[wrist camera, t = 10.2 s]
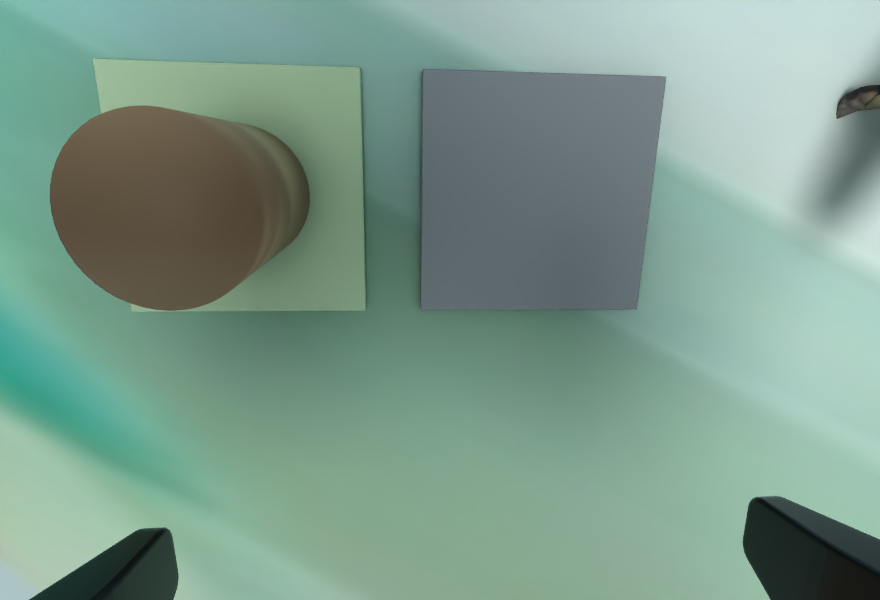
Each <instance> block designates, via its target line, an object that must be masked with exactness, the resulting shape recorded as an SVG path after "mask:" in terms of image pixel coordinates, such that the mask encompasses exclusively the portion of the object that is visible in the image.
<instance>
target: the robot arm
mask: <svg viewBox="0 0 880 600" xmlns="http://www.w3.org/2000/svg"><path fill="white" fill-rule="evenodd" d="M743 548H744V552H745V555H746V557H747V559H748V561H749V563H750V564H751V566H752V568H753V570H754V571H755V573H756V575H757V577H758V578H759V580H760V582H761V584H762V585H763V587H764V589H765V591H766V592H767V594H768V596H769V598H770V599H771V600H880V539H877V538H875V537H873V536H870V535H868V534H866V533H863V532H861V531H859V530H857V529H854V528H852V527H850V526H847V525H845V524H843V523H840V522H838V521H836V520H834V519H831V518H829V517H827V516H824V515H822V514H820V513H817V512H815V511H813V510H811V509H808V508H806V507H804V506H801V505H799V504H797V503H794V502H792V501H790V500H787V499H785V498H783V497H779V496H767V497H755V498H753V499H752V500H751V501H750V503H749V506H748V512H747V518H746V524H745V530H744V536H743ZM177 585H178V568H177V562H176V556H175V549H174V543H173V537H172V534H171V532H170V530H169V529H167V528H144V529H139V530H137V531H135V532H133V533H132V534H130V535H129V536H127V537H126V538H124V539H123V540H121V541H119V542H118V543H116V544H115V545H113V546H112V547H110V548H109V549H107V550H106V551H104V552H102V553H101V554H99V555H98V556H96V557H95V558H93V559H92V560H90V561H88V562H87V563H85V564H84V565H82V566H81V567H79V568H78V569H76V570H74V571H73V572H71V573H70V574H68V575H67V576H65V577H64V578H62V579H61V580H59V581H57V582H56V583H54V584H53V585H51V586H50V587H48V588H47V589H45V590H43V591H42V592H40V593H39V594H37V595H36V596H34V597H33V598H31V599H30V600H173V599H174V596H175V593H176V590H177Z"/></svg>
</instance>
